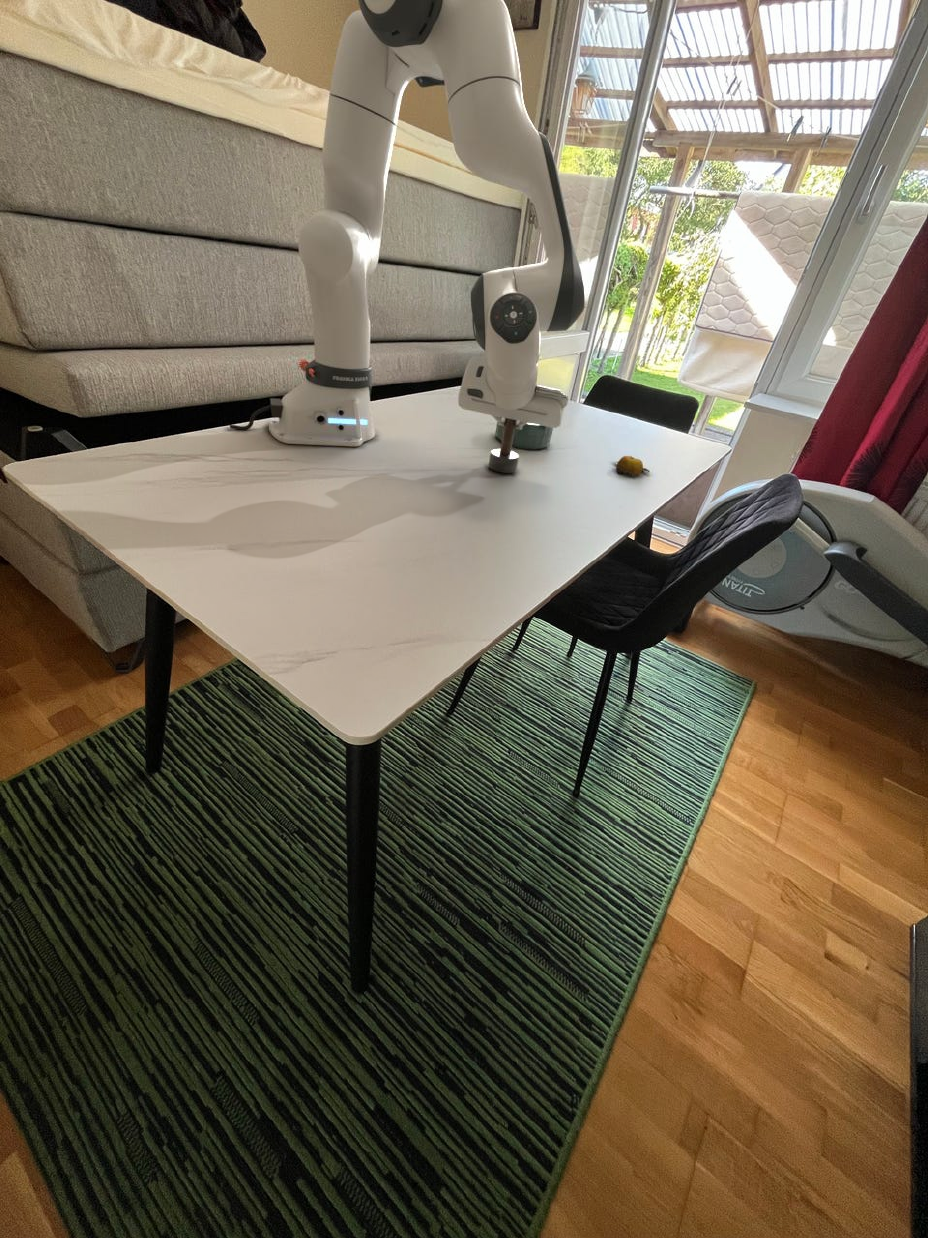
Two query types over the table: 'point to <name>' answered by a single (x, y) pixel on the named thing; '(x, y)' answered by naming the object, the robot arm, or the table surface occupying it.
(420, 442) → the table surface
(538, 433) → the bowl
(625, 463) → the fruit
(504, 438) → the ring toss peg
